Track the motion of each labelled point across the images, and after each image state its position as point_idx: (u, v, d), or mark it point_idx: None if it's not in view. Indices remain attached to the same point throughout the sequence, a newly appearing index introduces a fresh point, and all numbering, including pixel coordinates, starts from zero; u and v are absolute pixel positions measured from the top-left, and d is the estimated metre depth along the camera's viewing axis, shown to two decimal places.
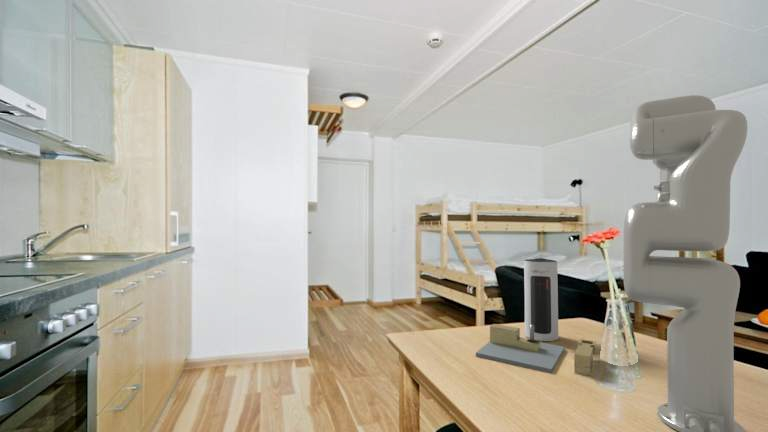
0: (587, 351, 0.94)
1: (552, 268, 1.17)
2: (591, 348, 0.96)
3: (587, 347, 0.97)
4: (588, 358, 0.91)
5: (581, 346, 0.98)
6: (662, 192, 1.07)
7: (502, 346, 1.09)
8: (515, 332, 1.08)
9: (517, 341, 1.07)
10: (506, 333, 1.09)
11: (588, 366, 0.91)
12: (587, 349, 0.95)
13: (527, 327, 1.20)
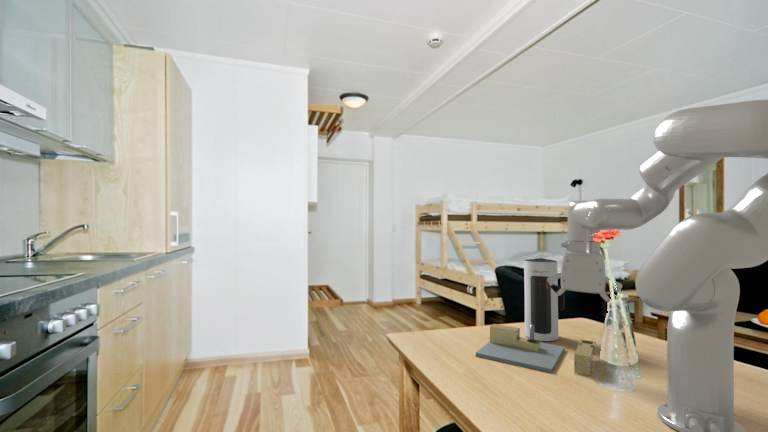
0: (587, 351, 0.94)
1: (552, 268, 1.17)
2: (591, 348, 0.96)
3: (587, 347, 0.97)
4: (588, 358, 0.90)
5: (581, 346, 0.98)
6: (568, 251, 0.95)
7: (502, 346, 1.09)
8: (515, 332, 1.08)
9: (517, 341, 1.07)
10: (506, 333, 1.09)
11: (588, 366, 0.90)
12: (587, 349, 0.95)
13: (527, 327, 1.20)
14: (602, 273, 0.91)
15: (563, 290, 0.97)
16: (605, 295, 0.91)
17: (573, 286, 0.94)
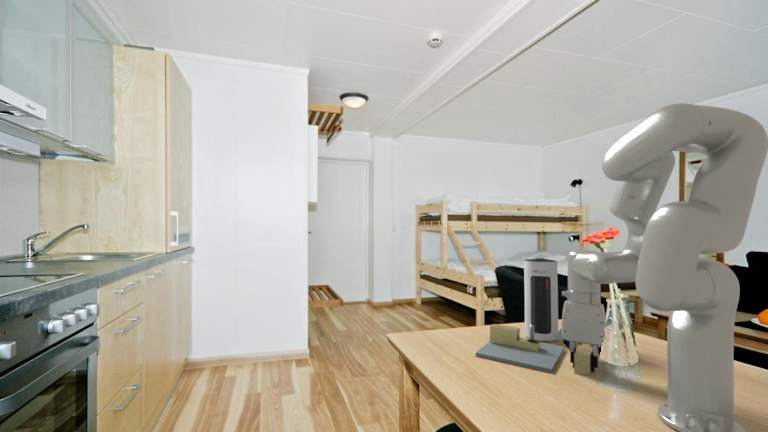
0: (587, 351, 0.94)
1: (552, 268, 1.17)
2: (591, 348, 0.96)
3: (587, 347, 0.97)
4: (588, 358, 0.90)
5: (581, 346, 0.98)
6: (569, 301, 0.95)
7: (502, 346, 1.09)
8: (515, 332, 1.08)
9: (517, 341, 1.07)
10: (506, 333, 1.09)
11: (588, 366, 0.90)
12: (587, 349, 0.95)
13: (527, 327, 1.20)
14: (603, 325, 0.90)
15: (573, 344, 0.95)
16: (596, 350, 0.92)
17: (574, 336, 0.94)
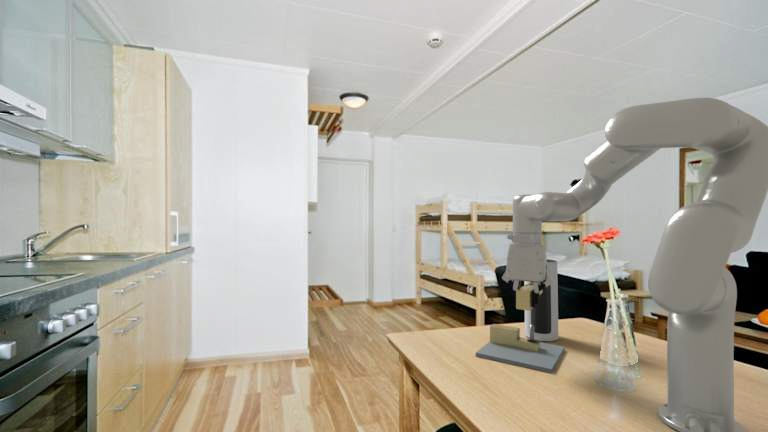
0: (529, 289, 0.99)
1: (552, 268, 1.17)
2: None
3: (531, 287, 1.03)
4: (528, 293, 0.96)
5: (526, 286, 1.03)
6: (513, 242, 1.01)
7: (502, 346, 1.09)
8: (515, 332, 1.08)
9: (517, 341, 1.07)
10: (506, 333, 1.09)
11: (528, 301, 0.96)
12: (530, 288, 1.01)
13: (527, 327, 1.20)
14: (542, 263, 0.96)
15: (516, 283, 1.01)
16: (536, 287, 0.98)
17: (517, 275, 0.99)
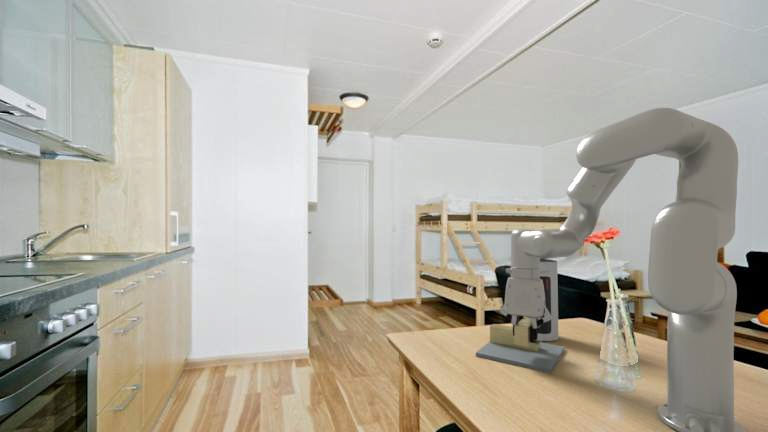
0: (528, 324, 0.99)
1: (552, 268, 1.17)
2: None
3: (530, 320, 1.03)
4: (526, 329, 0.96)
5: (524, 320, 1.03)
6: (511, 277, 1.01)
7: (502, 346, 1.09)
8: None
9: None
10: (506, 333, 1.09)
11: (526, 337, 0.96)
12: (528, 322, 1.01)
13: None
14: (540, 299, 0.96)
15: (515, 318, 1.01)
16: (535, 322, 0.98)
17: (515, 310, 0.99)
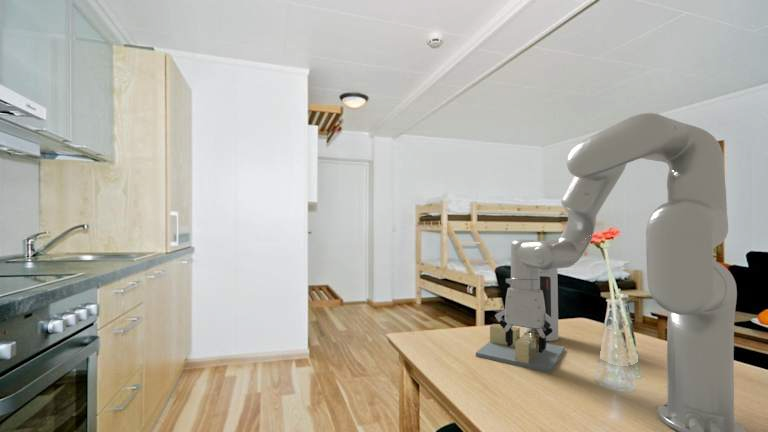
0: (528, 340, 0.99)
1: None
2: (534, 337, 1.01)
3: (531, 336, 1.02)
4: (527, 346, 0.96)
5: (525, 336, 1.03)
6: (511, 287, 1.01)
7: (502, 346, 1.09)
8: (515, 332, 1.08)
9: None
10: None
11: (527, 354, 0.96)
12: (529, 338, 1.01)
13: None
14: (540, 310, 0.96)
15: (509, 326, 1.01)
16: (542, 332, 0.96)
17: (515, 321, 0.99)
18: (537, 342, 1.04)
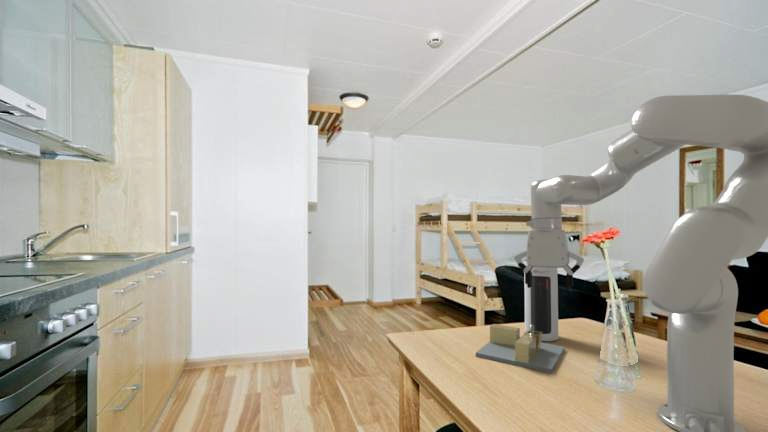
0: (528, 340, 0.99)
1: (552, 268, 1.17)
2: (534, 337, 1.01)
3: (531, 336, 1.02)
4: (527, 346, 0.96)
5: (525, 336, 1.03)
6: (532, 229, 0.99)
7: (502, 346, 1.09)
8: (515, 332, 1.08)
9: None
10: (506, 333, 1.09)
11: (527, 354, 0.96)
12: (529, 338, 1.01)
13: (527, 327, 1.20)
14: (564, 247, 0.94)
15: (529, 267, 1.00)
16: (568, 269, 0.94)
17: (538, 262, 0.97)
18: (537, 342, 1.04)
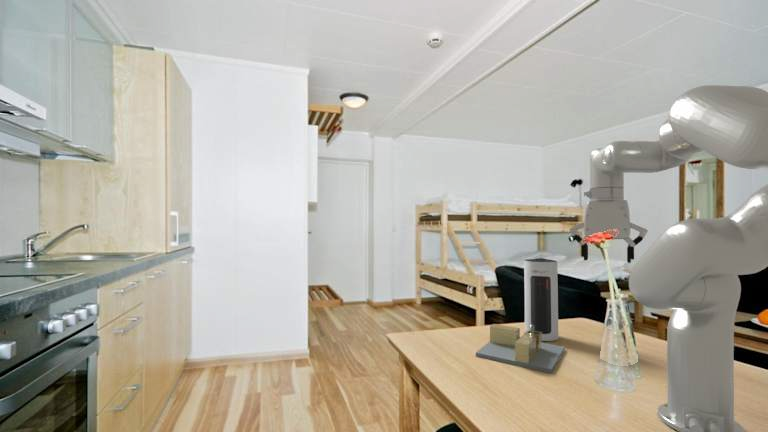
0: (528, 340, 0.99)
1: (552, 268, 1.17)
2: (534, 337, 1.01)
3: (531, 336, 1.02)
4: (527, 346, 0.96)
5: (525, 336, 1.03)
6: (591, 199, 0.95)
7: (502, 346, 1.09)
8: (515, 332, 1.08)
9: None
10: (506, 333, 1.09)
11: (527, 354, 0.96)
12: (529, 338, 1.01)
13: (527, 327, 1.20)
14: (627, 218, 0.90)
15: None
16: (630, 240, 0.91)
17: None
18: (537, 342, 1.04)
